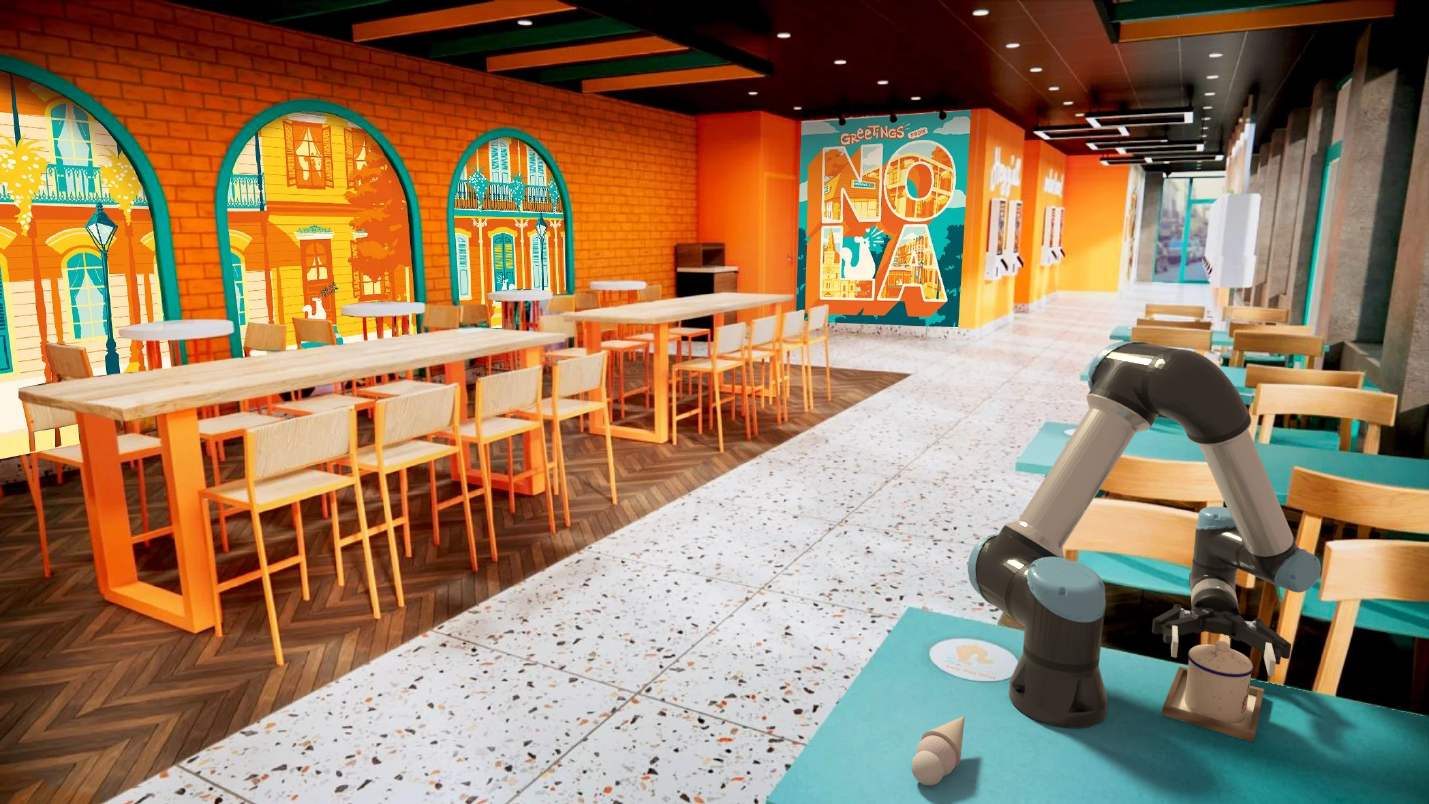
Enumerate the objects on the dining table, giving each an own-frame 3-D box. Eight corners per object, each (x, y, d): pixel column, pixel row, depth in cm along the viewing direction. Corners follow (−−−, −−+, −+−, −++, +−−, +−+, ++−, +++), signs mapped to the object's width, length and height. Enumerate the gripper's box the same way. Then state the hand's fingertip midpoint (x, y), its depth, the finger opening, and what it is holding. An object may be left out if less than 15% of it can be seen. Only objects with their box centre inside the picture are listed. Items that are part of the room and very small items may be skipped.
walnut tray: (1161, 714, 136) (1162, 706, 135) (1178, 674, 148) (1179, 666, 148) (1253, 742, 128) (1254, 733, 128) (1263, 697, 141) (1264, 689, 140)
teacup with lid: (1256, 727, 131) (1265, 659, 129) (1193, 721, 133) (1200, 654, 131) (1227, 687, 143) (1235, 624, 141) (1169, 682, 145) (1176, 619, 142)
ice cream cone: (967, 739, 130) (924, 803, 119) (938, 708, 131) (892, 768, 121) (992, 723, 126) (949, 788, 115) (961, 691, 127) (916, 752, 117)
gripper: (1293, 640, 150) (1312, 698, 131) (1137, 612, 161) (1134, 662, 143) (1298, 600, 148) (1318, 654, 130) (1141, 575, 159) (1138, 621, 141)
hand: (1222, 659), depth 136 cm, fingers open, 13 cm apart
